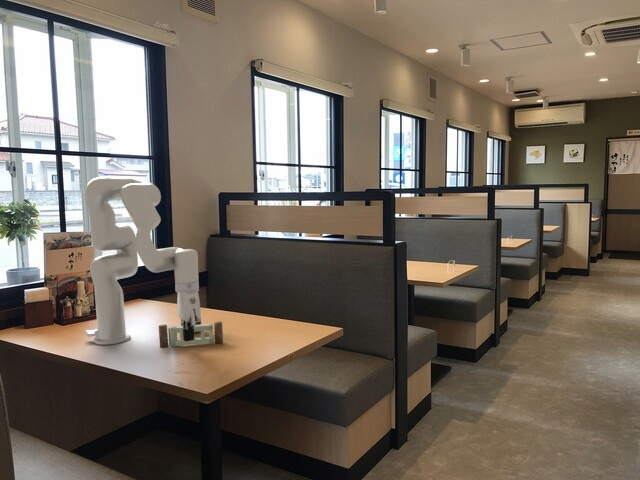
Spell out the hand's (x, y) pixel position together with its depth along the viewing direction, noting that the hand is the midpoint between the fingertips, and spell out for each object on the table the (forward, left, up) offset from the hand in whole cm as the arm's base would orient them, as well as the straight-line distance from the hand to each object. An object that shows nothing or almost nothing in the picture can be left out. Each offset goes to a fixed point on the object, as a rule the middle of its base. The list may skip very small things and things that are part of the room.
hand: (188, 340), depth 169 cm
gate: (0, +7, -3) cm, 8 cm away
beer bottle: (-3, +25, -4) cm, 25 cm away
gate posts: (0, +8, -4) cm, 9 cm away
